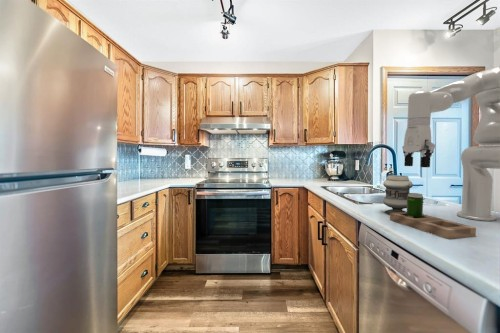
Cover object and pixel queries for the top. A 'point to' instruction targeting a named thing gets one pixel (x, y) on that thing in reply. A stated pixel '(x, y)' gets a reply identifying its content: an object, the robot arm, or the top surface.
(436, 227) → the can rack
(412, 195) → the beer can
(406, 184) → the apothecary jar
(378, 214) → the top surface
